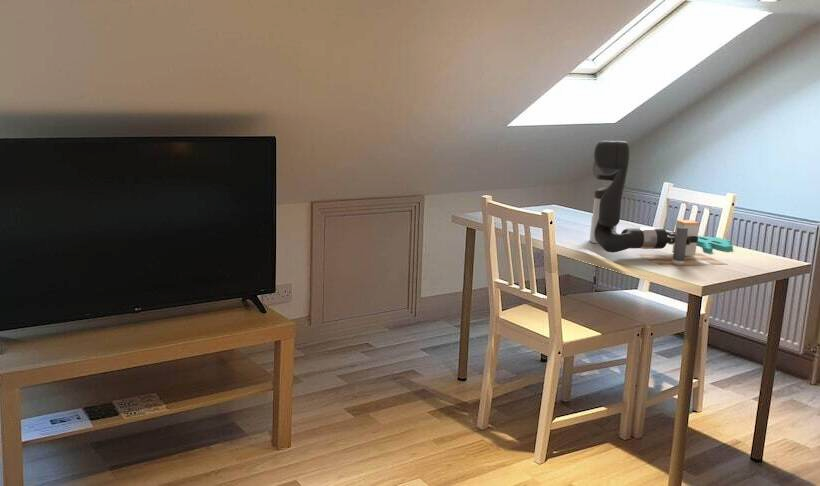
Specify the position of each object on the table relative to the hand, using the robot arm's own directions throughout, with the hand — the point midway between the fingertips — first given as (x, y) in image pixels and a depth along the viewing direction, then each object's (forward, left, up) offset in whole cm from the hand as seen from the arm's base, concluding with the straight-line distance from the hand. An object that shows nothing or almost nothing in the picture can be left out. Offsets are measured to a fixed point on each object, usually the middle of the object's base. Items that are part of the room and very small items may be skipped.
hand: (692, 237), depth 290 cm
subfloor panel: (+5, -7, -8) cm, 12 cm away
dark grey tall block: (+11, -13, -6) cm, 18 cm away
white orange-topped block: (0, -3, -6) cm, 6 cm away
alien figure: (-20, +20, -9) cm, 30 cm away
